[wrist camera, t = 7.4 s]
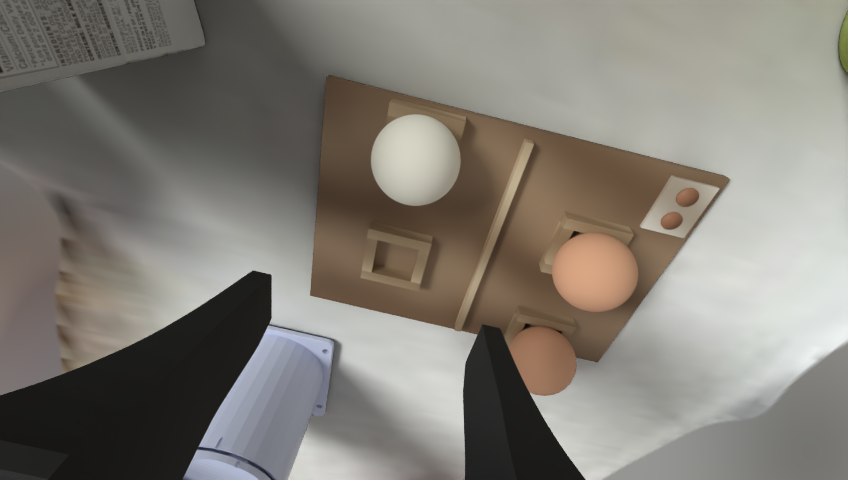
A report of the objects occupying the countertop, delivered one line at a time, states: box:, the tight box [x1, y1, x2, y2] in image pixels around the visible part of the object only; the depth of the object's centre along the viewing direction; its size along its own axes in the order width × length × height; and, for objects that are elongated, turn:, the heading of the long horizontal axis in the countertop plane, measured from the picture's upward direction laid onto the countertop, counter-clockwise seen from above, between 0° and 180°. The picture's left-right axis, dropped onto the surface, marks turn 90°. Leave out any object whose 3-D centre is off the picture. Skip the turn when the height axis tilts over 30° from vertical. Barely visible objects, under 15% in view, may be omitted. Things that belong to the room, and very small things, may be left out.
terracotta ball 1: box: [509, 326, 576, 396], centre depth 24 cm, size 4×4×4 cm
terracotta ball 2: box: [552, 233, 638, 312], centre depth 20 cm, size 4×4×4 cm
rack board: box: [310, 75, 730, 362], centre depth 22 cm, size 14×20×1 cm
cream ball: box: [371, 114, 461, 206], centre depth 17 cm, size 4×4×4 cm
